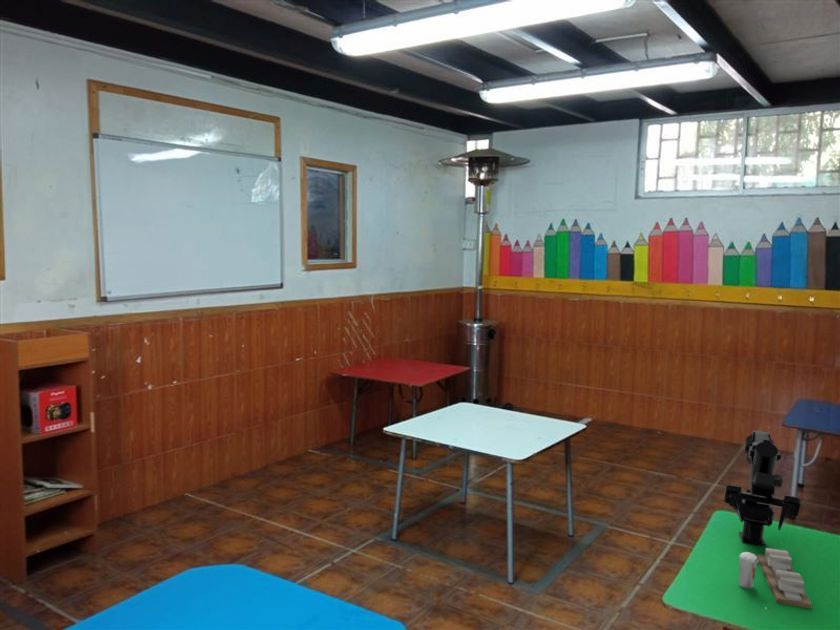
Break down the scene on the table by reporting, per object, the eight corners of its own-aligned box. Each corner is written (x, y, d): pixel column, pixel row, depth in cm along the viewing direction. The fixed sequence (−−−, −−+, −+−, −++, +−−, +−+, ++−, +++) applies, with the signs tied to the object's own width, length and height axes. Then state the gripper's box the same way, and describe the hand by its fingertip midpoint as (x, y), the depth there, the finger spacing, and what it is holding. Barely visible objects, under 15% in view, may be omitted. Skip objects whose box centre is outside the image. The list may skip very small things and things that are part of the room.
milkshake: (746, 592, 178) (751, 557, 177) (732, 582, 183) (736, 547, 182) (761, 590, 179) (765, 555, 178) (746, 580, 184) (750, 546, 183)
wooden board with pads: (756, 557, 197) (758, 541, 196) (786, 562, 195) (789, 546, 194) (776, 602, 174) (778, 584, 173) (811, 608, 172) (813, 590, 171)
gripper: (729, 455, 194) (725, 500, 183) (803, 468, 186) (804, 515, 175) (725, 479, 200) (722, 524, 190) (797, 493, 193) (797, 539, 182)
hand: (760, 525), depth 184 cm, fingers open, 9 cm apart
